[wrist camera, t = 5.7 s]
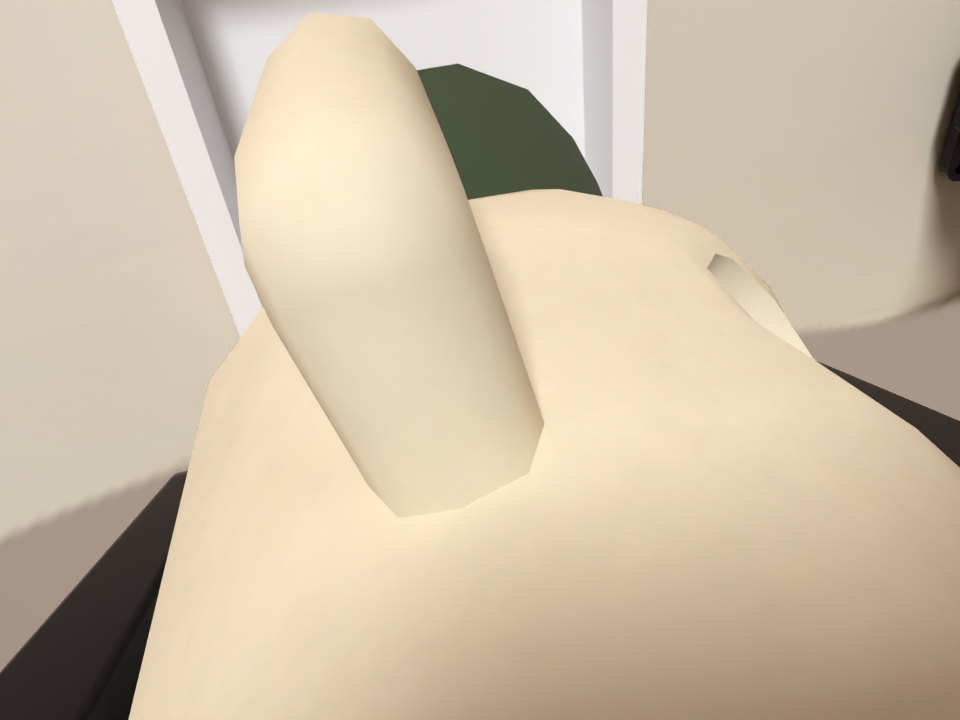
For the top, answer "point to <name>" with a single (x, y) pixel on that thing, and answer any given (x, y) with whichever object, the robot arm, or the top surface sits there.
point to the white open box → (425, 43)
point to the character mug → (526, 445)
